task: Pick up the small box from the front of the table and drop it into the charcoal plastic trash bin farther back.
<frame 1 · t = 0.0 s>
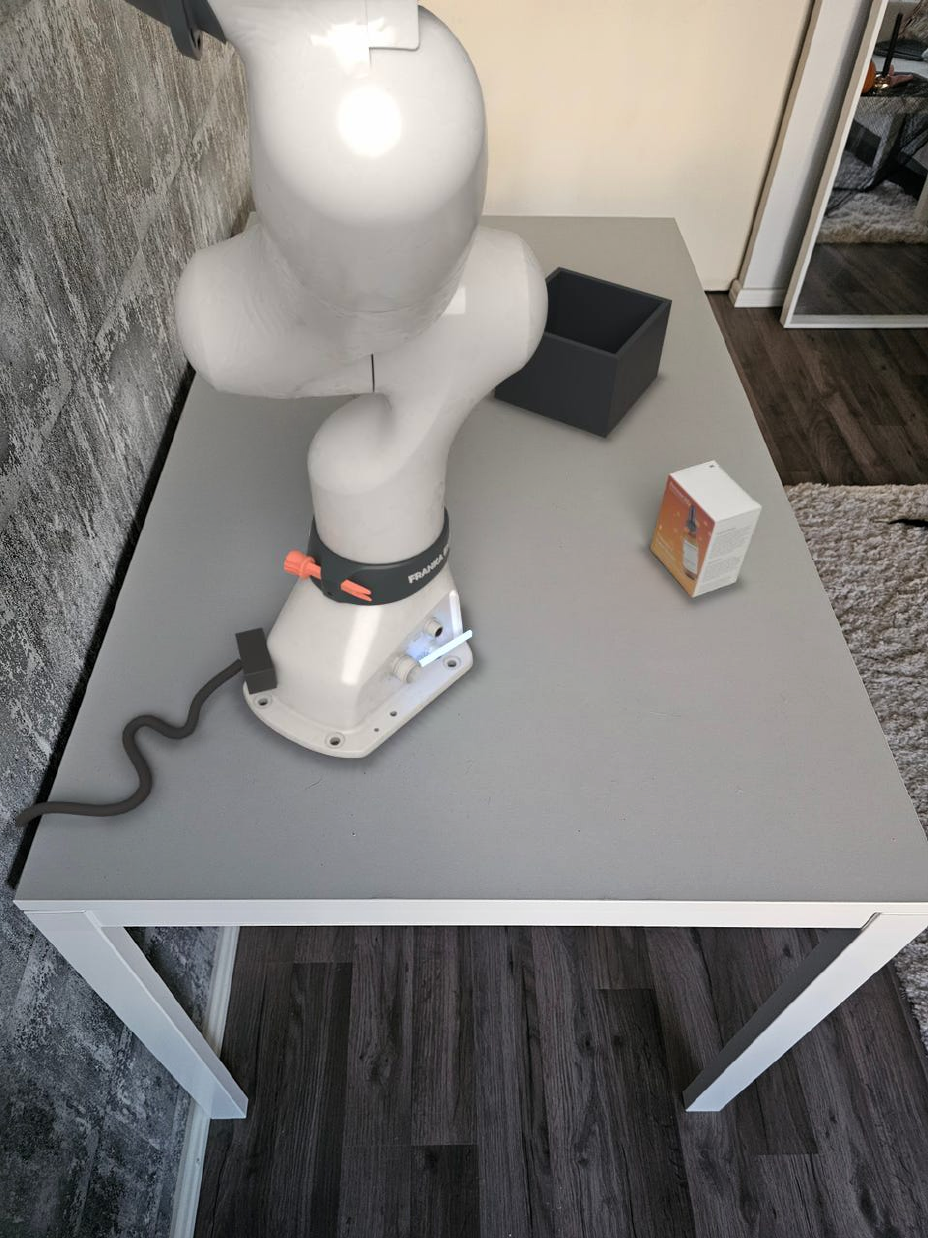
trash bin: (576, 387, 117), on the table
small box: (691, 568, 95), on the table
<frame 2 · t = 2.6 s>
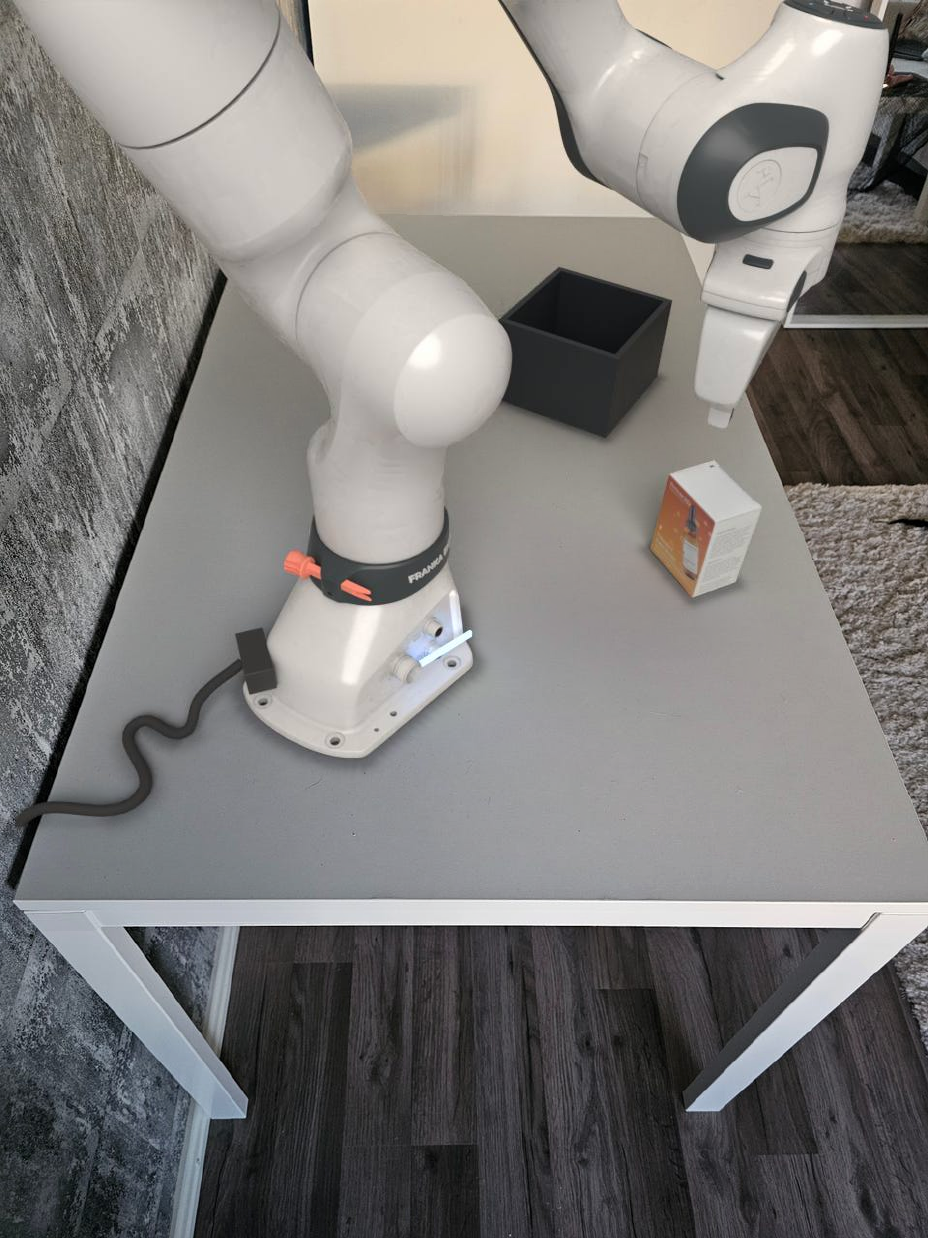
hand: (734, 394, 81), 20 cm above the table, tool pointing down, fingers open, 8 cm apart
nothing on the table moved.
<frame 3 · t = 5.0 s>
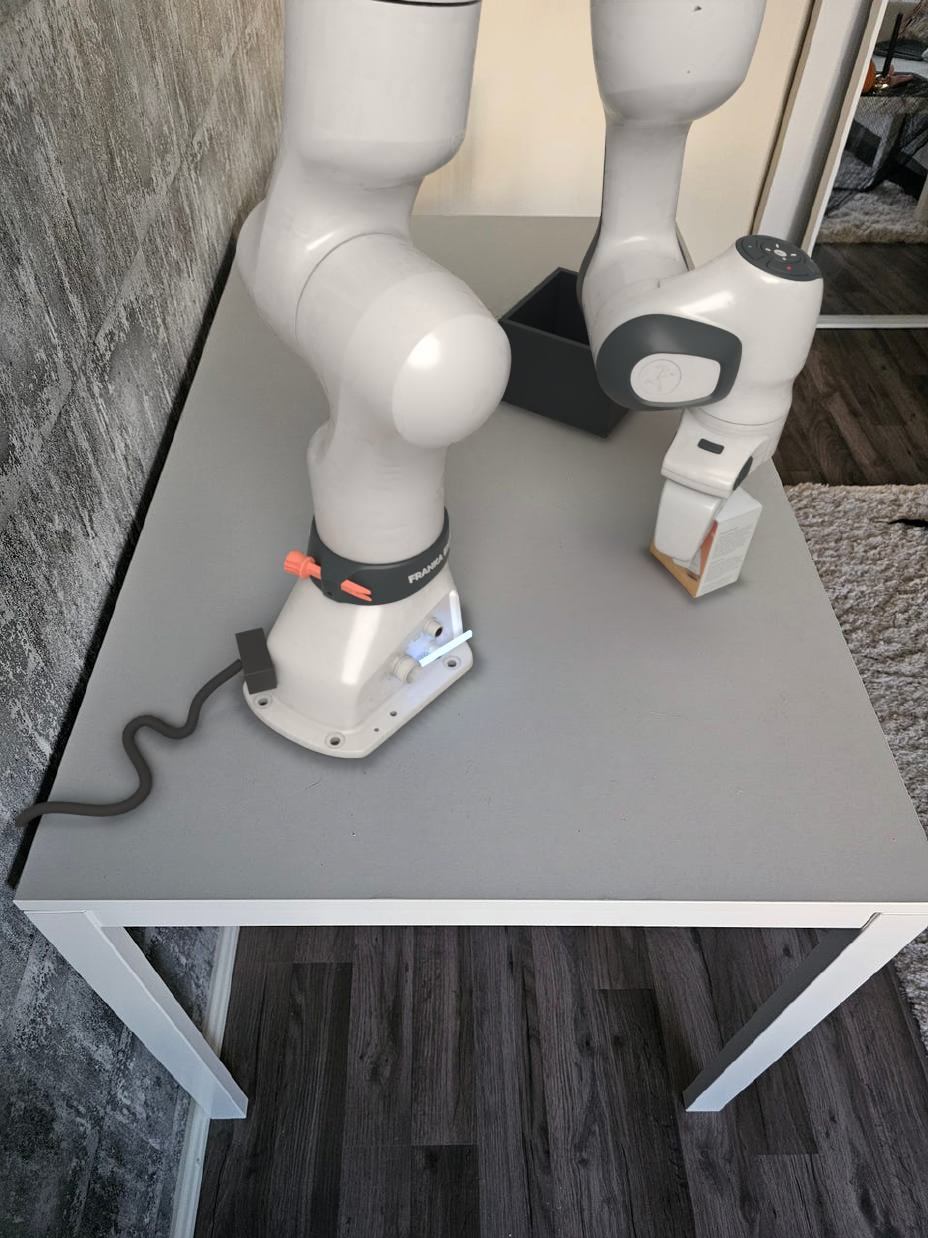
hand: (699, 536, 92), 4 cm above the table, tool pointing down, fingers closed on small box, 7 cm apart
small box: (692, 568, 95), on the table, touching gripper
everything else where it was.
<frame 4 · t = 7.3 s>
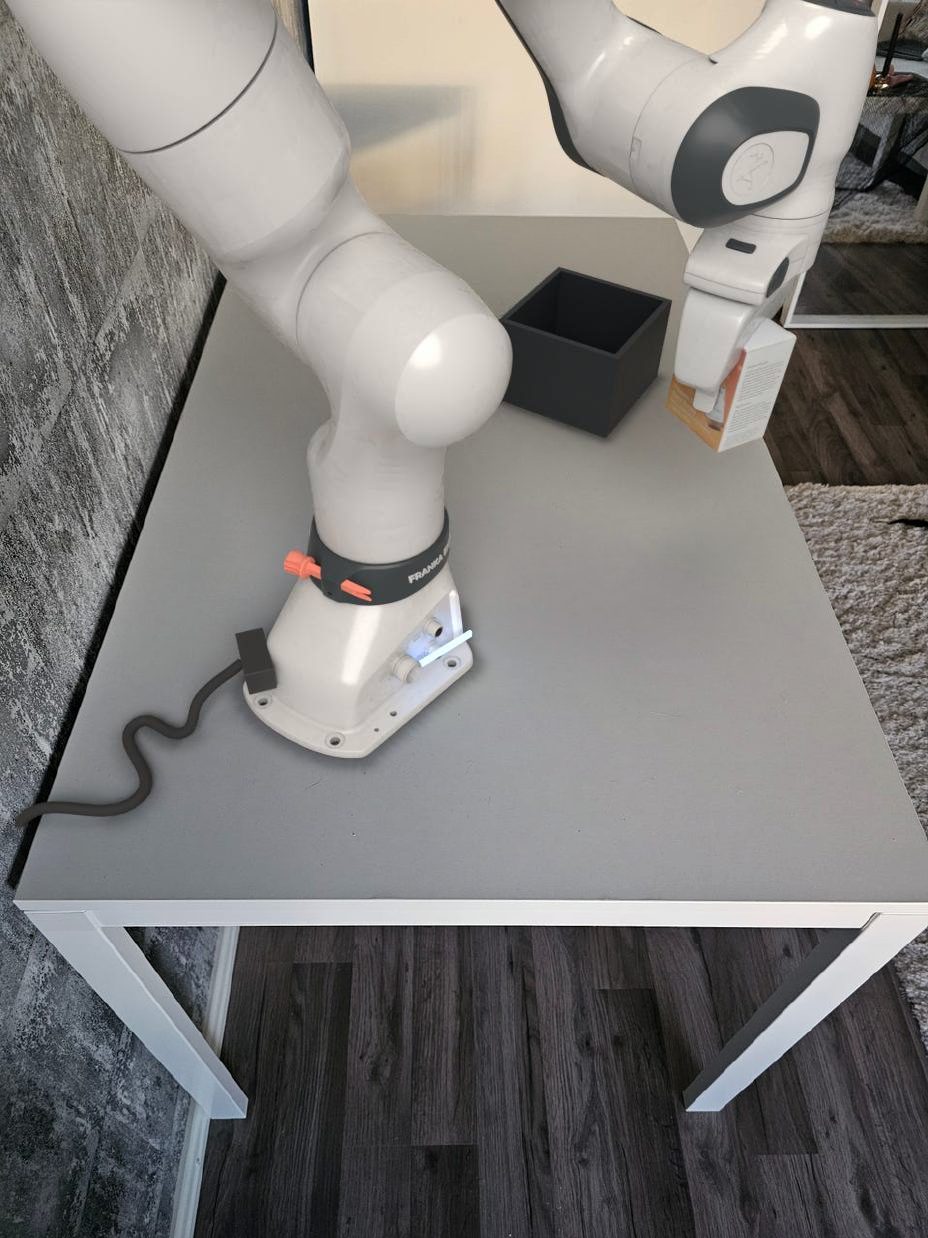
hand: (722, 383, 82), 20 cm above the table, tool pointing down, fingers closed on small box, 7 cm apart
small box: (712, 425, 85), point 16 cm above the table, touching gripper
everything else where it was.
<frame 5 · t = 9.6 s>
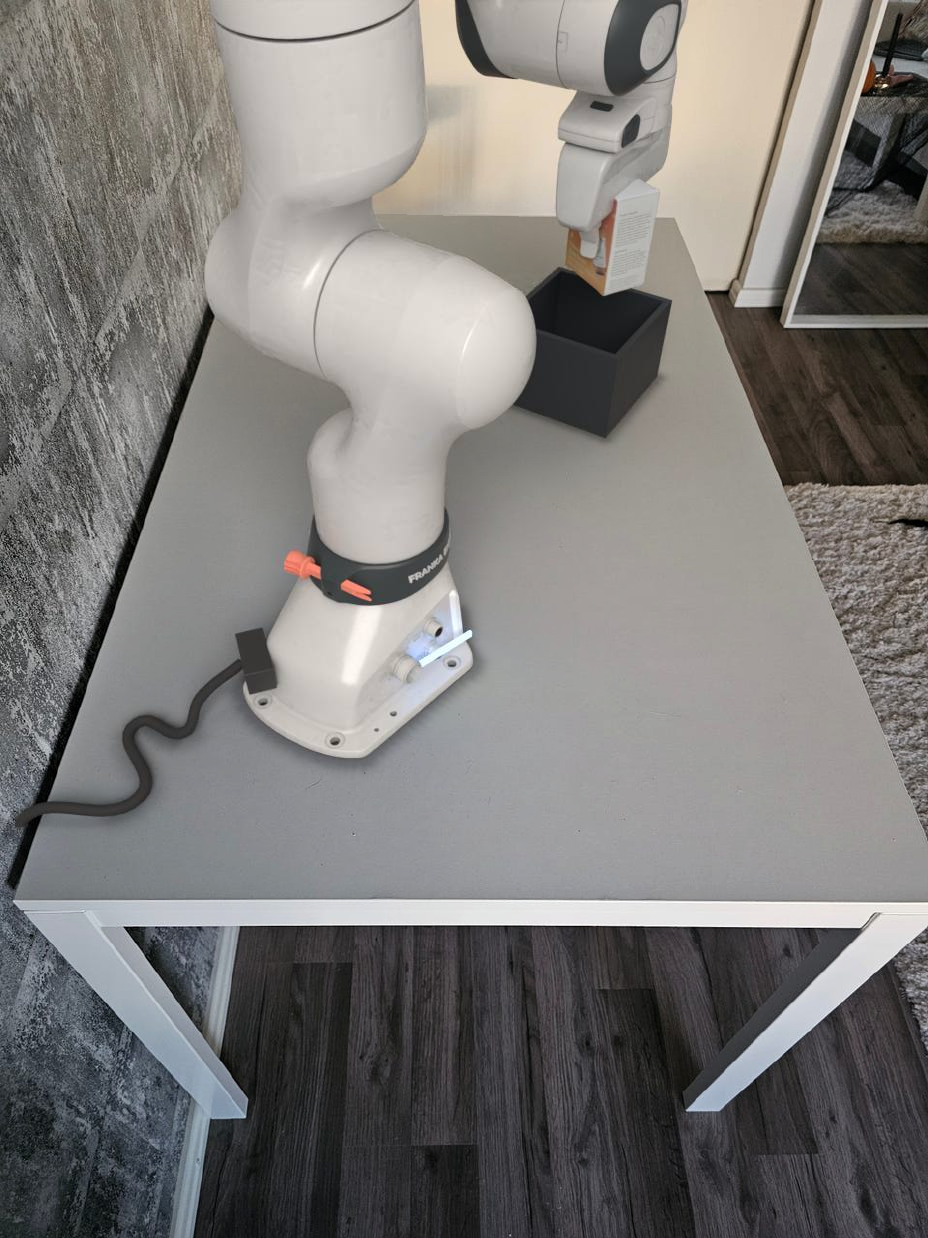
hand: (607, 238, 99), 21 cm above the table, tool pointing down, fingers closed on small box, 7 cm apart
small box: (603, 277, 102), point 16 cm above the table, touching gripper
everything else where it was.
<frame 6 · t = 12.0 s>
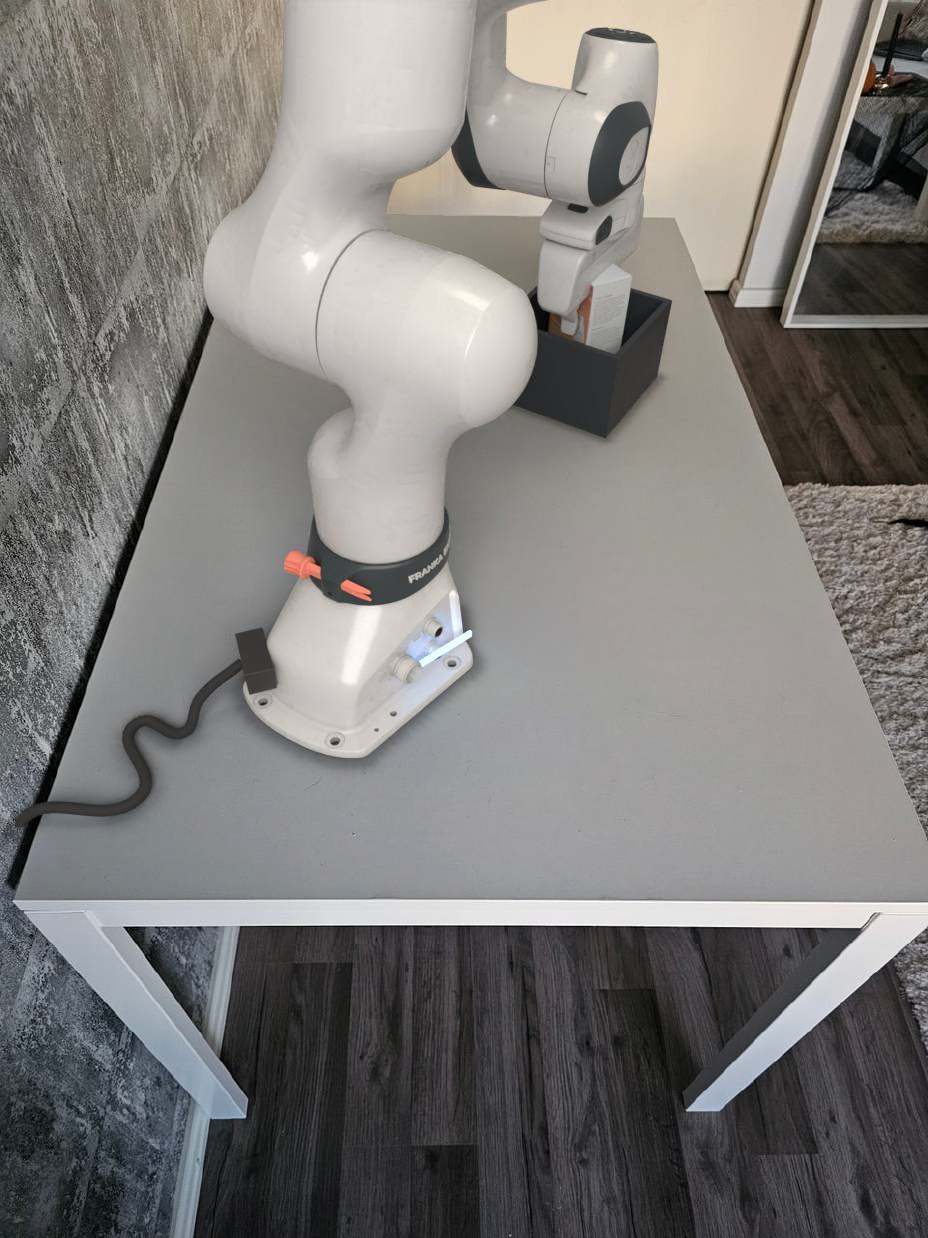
hand: (586, 315, 109), 10 cm above the table, tool pointing down, fingers closed on small box, 7 cm apart
small box: (583, 347, 112), point 6 cm above the table, touching gripper
everything else where it was.
when the fingers open (5 cm above the table, at t = 14.1 s): small box stays where it is, resting on trash bin.
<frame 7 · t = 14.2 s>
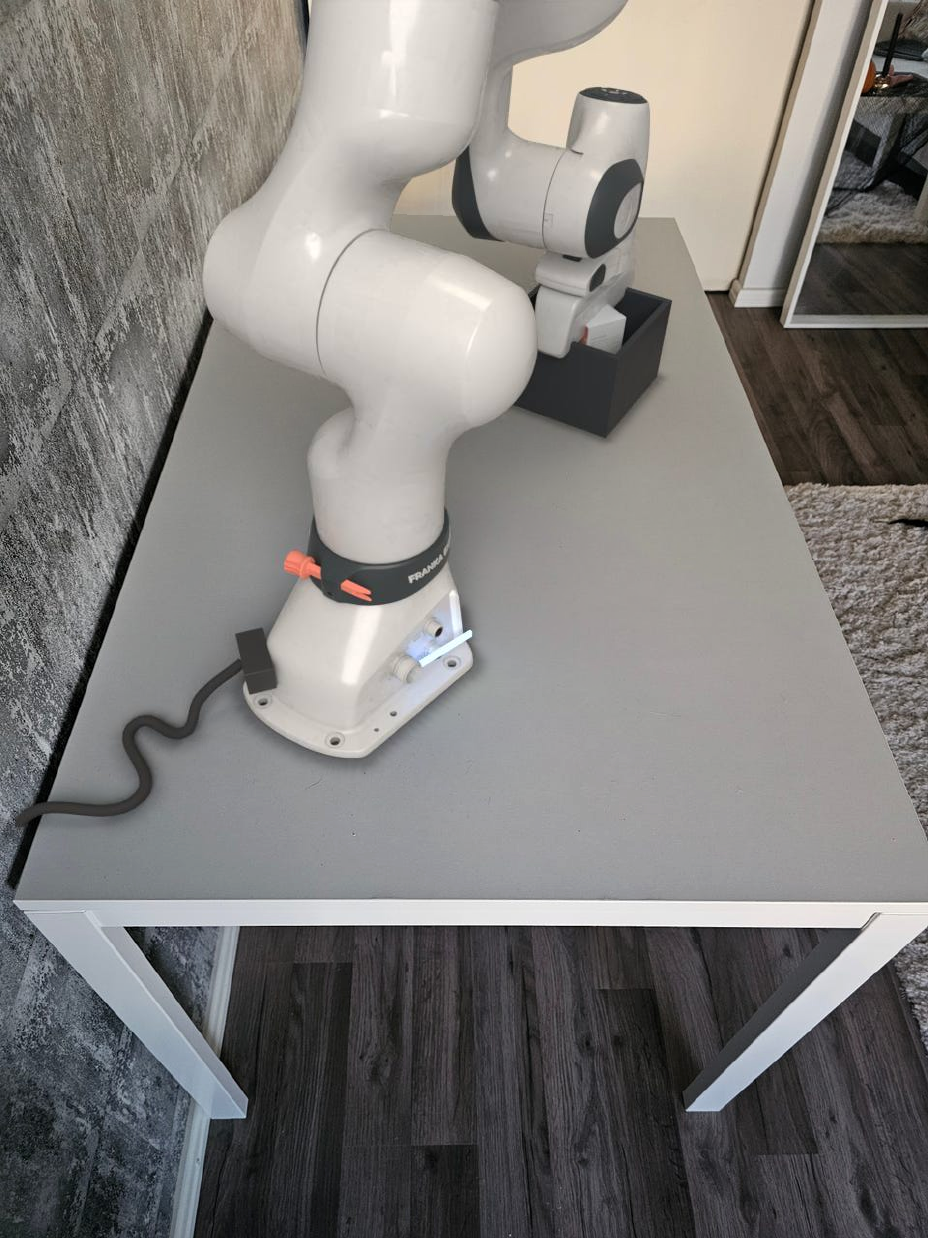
hand: (581, 353, 113), 5 cm above the table, tool pointing down, fingers open, 7 cm apart
small box: (578, 383, 116), point 1 cm above the table, touching trash bin
everything else where it was.
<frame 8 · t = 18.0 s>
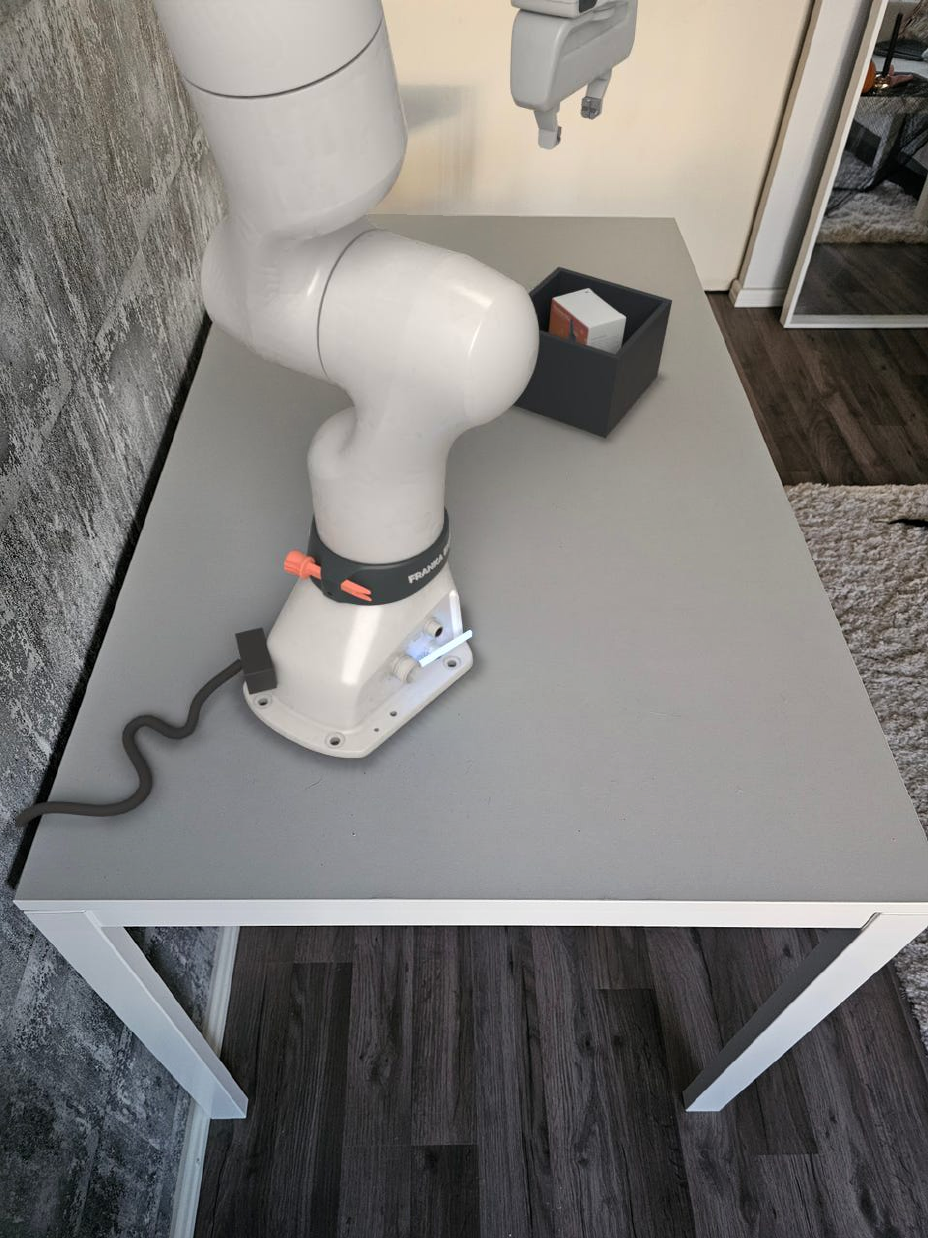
hand: (570, 130, 93), 31 cm above the table, tool pointing down, fingers open, 8 cm apart
nothing on the table moved.
at the end: small box inside the target area in the trash bin (0.2 cm from its centre), point 0.6 cm above the trash bin's base; the gripper is holding nothing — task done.
